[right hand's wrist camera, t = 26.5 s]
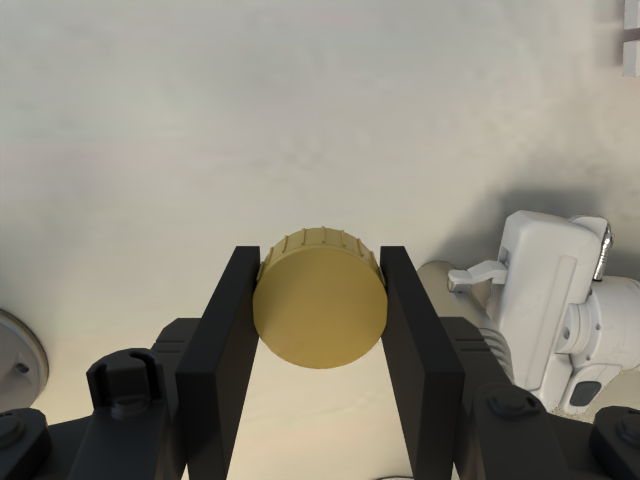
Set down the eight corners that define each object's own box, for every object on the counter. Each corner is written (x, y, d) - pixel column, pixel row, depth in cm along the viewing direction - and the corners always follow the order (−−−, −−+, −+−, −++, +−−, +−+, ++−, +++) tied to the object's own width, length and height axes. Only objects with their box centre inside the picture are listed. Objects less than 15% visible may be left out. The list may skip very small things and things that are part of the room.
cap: (335, 200, 14) (337, 217, 12) (406, 297, 15) (417, 325, 13) (232, 271, 15) (220, 297, 13) (307, 357, 16) (306, 392, 14)
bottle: (463, 262, 47) (552, 377, 29) (456, 305, 49) (535, 439, 31) (415, 259, 47) (473, 373, 29) (409, 303, 49) (460, 436, 31)
